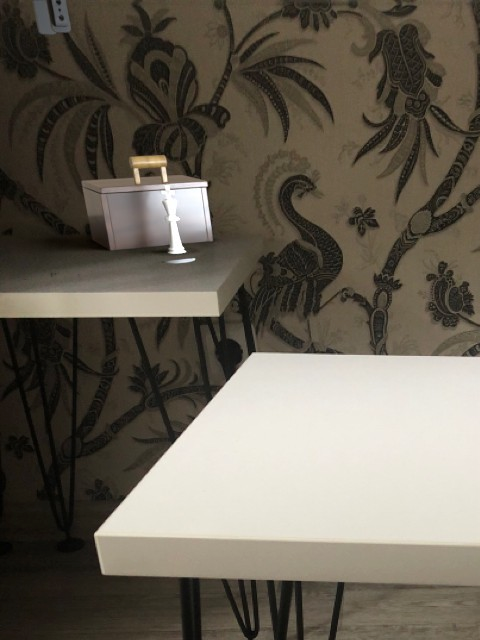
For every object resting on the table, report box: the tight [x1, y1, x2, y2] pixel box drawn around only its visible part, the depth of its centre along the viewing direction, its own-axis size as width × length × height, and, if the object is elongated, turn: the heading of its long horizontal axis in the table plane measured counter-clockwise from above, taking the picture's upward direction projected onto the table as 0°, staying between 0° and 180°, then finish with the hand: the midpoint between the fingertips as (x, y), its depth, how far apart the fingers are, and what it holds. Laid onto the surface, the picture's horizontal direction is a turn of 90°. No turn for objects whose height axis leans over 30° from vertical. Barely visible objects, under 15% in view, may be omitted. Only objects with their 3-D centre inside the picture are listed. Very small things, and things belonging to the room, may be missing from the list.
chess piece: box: [161, 185, 196, 264], centre depth 131 cm, size 5×5×10 cm
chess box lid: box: [81, 154, 209, 194], centre depth 137 cm, size 12×16×4 cm
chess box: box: [82, 186, 214, 251], centre depth 140 cm, size 12×16×9 cm
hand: (54, 33), depth 115 cm, fingers open, 8 cm apart
